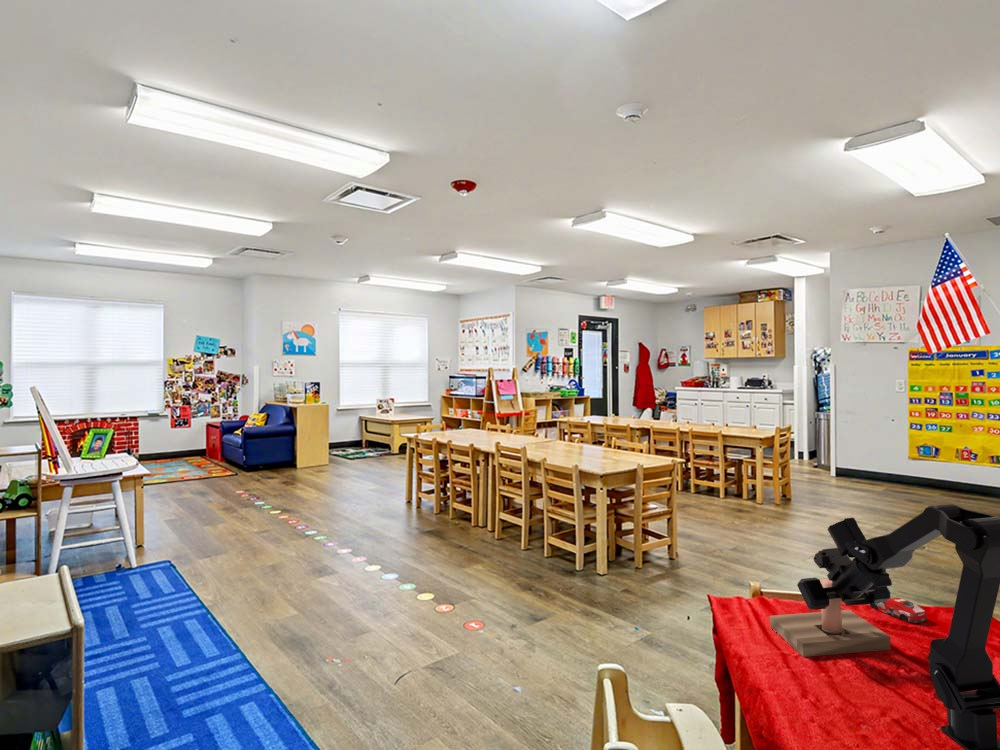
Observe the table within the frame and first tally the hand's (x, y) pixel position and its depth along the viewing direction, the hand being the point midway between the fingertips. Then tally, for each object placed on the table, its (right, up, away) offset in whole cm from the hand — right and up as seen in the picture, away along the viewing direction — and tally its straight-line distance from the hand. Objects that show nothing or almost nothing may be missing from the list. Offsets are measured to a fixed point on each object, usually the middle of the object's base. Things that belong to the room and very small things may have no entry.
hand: (827, 605), depth 135 cm
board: (0, -8, +1) cm, 8 cm away
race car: (+24, -7, +11) cm, 27 cm away
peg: (+1, -8, -1) cm, 8 cm away
